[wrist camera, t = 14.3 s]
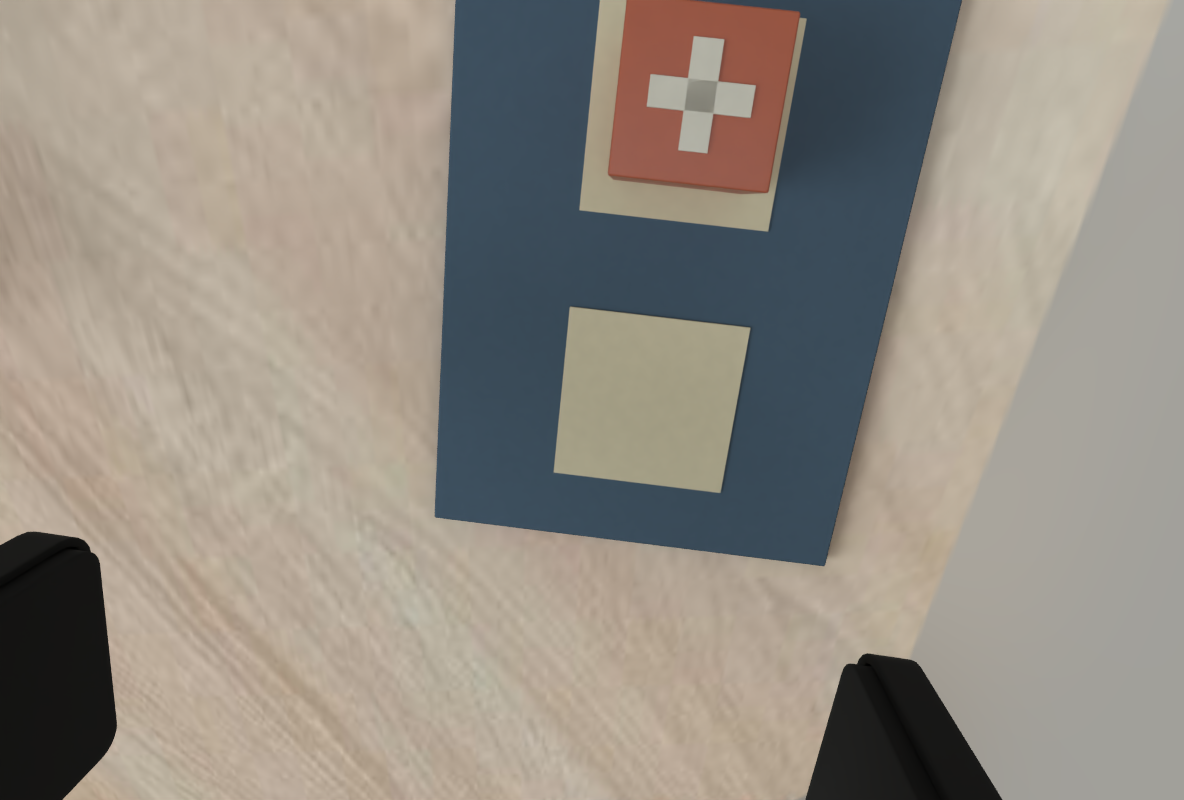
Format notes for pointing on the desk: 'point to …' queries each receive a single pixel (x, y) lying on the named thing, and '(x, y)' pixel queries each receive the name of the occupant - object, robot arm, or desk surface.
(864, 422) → the desk surface
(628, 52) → the rust brown block
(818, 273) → the mat
